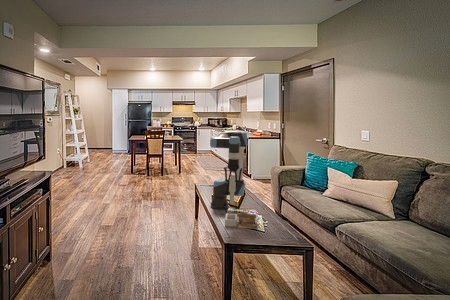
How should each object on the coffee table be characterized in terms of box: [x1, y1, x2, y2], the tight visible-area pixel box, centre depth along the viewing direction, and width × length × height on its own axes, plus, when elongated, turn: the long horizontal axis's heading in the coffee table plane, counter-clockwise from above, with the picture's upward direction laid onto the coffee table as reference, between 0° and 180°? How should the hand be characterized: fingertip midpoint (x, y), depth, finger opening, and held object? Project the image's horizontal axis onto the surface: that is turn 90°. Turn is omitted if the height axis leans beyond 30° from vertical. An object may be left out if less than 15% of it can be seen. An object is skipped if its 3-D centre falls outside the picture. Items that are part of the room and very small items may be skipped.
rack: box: [236, 212, 258, 229], centre depth 240 cm, size 14×14×6 cm
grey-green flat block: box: [229, 172, 235, 205], centre depth 238 cm, size 3×10×20 cm, turn 178°
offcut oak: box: [241, 218, 251, 222], centre depth 236 cm, size 4×6×2 cm, turn 112°
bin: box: [224, 213, 237, 228], centre depth 241 cm, size 14×8×5 cm, turn 177°
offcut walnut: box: [239, 220, 255, 225], centre depth 236 cm, size 4×9×2 cm, turn 108°
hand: (232, 191), depth 239 cm, fingers closed on grey-green flat block, 3 cm apart
